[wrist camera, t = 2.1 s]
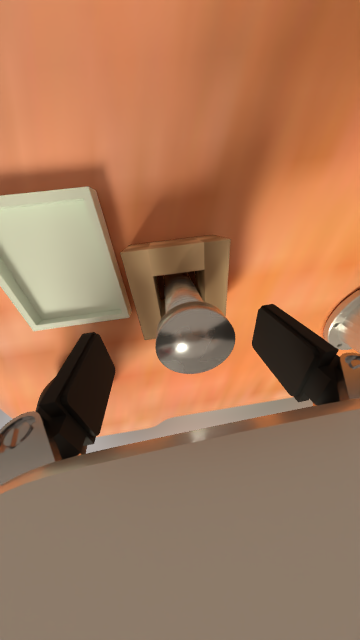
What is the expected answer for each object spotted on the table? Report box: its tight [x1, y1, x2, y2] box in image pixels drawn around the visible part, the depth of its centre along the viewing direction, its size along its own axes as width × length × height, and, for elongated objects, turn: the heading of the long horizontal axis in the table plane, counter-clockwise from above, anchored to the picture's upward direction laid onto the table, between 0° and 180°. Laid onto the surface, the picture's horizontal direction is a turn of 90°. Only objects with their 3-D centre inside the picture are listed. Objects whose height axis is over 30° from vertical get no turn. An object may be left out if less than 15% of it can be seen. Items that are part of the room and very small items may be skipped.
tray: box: [0, 187, 132, 331], centre depth 17 cm, size 11×12×2 cm
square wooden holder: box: [120, 235, 230, 340], centre depth 17 cm, size 9×9×5 cm
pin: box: [156, 272, 235, 374], centre depth 14 cm, size 5×5×12 cm
